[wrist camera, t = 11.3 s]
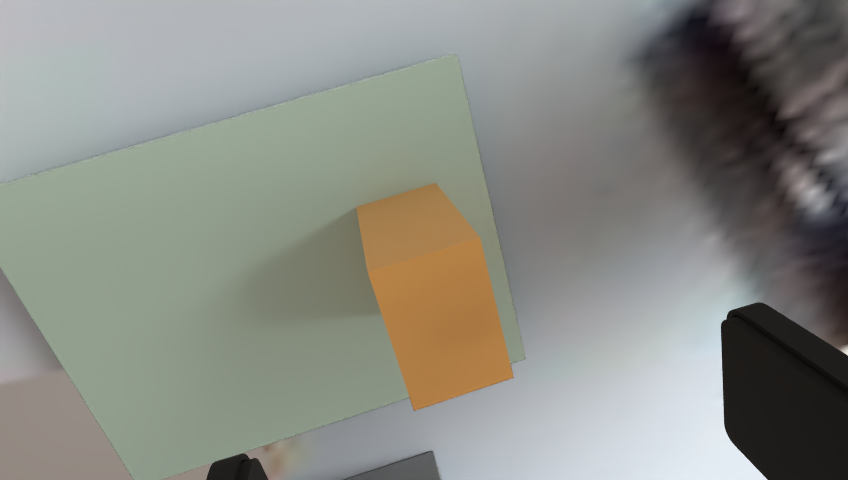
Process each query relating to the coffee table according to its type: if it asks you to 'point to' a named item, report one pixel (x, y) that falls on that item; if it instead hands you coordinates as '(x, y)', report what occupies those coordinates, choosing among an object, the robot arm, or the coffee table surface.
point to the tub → (406, 470)
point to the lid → (270, 270)
